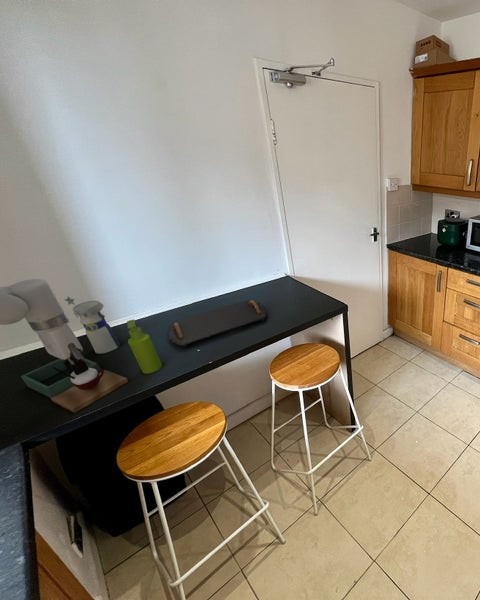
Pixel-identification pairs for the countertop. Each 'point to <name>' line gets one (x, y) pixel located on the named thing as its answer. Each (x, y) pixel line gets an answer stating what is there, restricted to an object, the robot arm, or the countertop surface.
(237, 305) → the serving tray
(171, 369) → the countertop surface
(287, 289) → the countertop surface
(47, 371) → the crate
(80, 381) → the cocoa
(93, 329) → the water bottle
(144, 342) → the soap dispenser
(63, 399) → the cutting board
